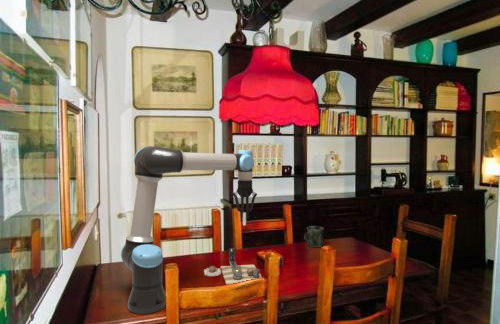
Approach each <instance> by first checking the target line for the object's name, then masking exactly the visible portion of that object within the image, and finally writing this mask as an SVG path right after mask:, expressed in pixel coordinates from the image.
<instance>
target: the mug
mask: <svg viewBox="0 0 500 324" xmlns="http://www.w3.org/2000/svg"><path fill="white" fill-rule="evenodd" d="M306 229H307V232H304V237H303V238H304V241H305V242H306V244H307V247H309V248H313V247H320V248H322V247H323V246H324V229H325V228H324V226H317V225H311V226H310V225H309V226H307V227H306Z"/></svg>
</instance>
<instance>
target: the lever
mask: <svg viewBox="0 0 500 324" xmlns="http://www.w3.org/2000/svg"><path fill="white" fill-rule="evenodd" d="M228 261H229V266H231V267H232V270H233V272H234V274H235V276H241V275H242V268H241V266H237V265H238V264H237V262H236V248H234V247H230V248H228Z"/></svg>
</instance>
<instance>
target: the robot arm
mask: <svg viewBox="0 0 500 324" xmlns="http://www.w3.org/2000/svg"><path fill="white" fill-rule="evenodd" d="M253 155H254V154H253V151H252V150H251V149H239V150H238V152H237V153H214V152H213V153H211V152H208V153H207V152H188V151H187V152H185V151H183V150H181V149H174V148H167V147H164V146H163V147H162V146H153V145H148V146H144V147H142V148H140V149H139V150H137V152H136V153H135V154H134V159H133V162H134V165H135V170H134V172H135V173H134V176H135V178H136V179H137V185H136V190H135V200H134V206H133V212H132V213H133V214H132V220H131V229H130V233H129V234H128V236H126V239H125V244H124V245H123V246H122V248H121V252H120V253H121V254H120V256H121V261H122V262H123V264H124V265H125V266H126V267H127V268H128V269H129V270H130V271H131V275H132V276H131V277H132V279H131V280H132V281H131V282H132V283H131V284H132V286H131V287H132V289H131V291H130V294H129V297H128V300H127V310H128V312H130V313H134V314H138V315H147V314H152V313H157V312H159V311H162V310H163V309H164V308H165V307H166V306H165V294H166V291H165V289H164V287H163V260H164V259H163V258H164V256H163V250H162V248H161V247H159V246H157V245H155V244H154V241H155V239H154V238H153V236H152V229H153V223H154V215H155V208H156V202H157V201H156V199H157V191H158V185H159V182H160V181H161V180H162V179H163V175H164V174H171V173H172V174H173V173H182V172H183V171H237V179H238V180H237V189H236V191H235V192H232V196H233V198H234V201H235V206H236V210H237V212H239V213H240V219H242V226H246V225H247V219H249V213H251V212H252V211H253V208H254V207H253V206H254V203H255V200H256V197H257V195H258V192H255V191H254V189H253V180H252V179H253V168H254V166H255V160H254V158H253V157H254V156H253ZM238 195H239V197H240V204H239V198H238ZM251 196H252V198H251V203H250V206H249V199H250V197H251ZM244 200H245V201H244ZM244 204H245V205H244ZM244 206H245V210H244Z"/></svg>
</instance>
